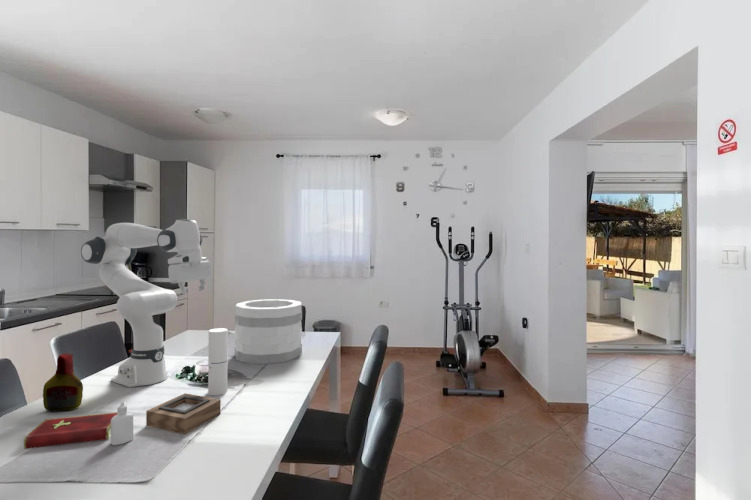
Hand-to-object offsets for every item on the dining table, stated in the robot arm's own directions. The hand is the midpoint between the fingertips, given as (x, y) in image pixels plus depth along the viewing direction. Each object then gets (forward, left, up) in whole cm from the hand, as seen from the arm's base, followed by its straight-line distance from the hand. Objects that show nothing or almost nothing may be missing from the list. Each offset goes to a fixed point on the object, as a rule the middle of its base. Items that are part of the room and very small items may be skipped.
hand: (193, 291), depth 160 cm
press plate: (+18, -23, -37) cm, 47 cm away
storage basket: (-1, +54, -40) cm, 68 cm away
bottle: (-28, -32, -40) cm, 58 cm away
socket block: (+18, -23, -40) cm, 49 cm away
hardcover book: (-5, -43, -41) cm, 59 cm away
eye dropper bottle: (+12, -41, -40) cm, 58 cm away
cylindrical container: (+11, +1, -40) cm, 42 cm away
